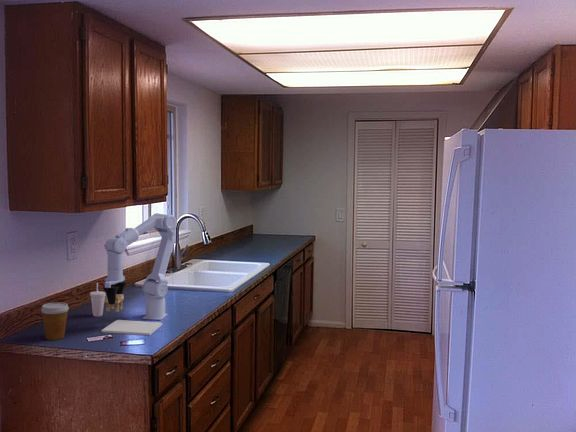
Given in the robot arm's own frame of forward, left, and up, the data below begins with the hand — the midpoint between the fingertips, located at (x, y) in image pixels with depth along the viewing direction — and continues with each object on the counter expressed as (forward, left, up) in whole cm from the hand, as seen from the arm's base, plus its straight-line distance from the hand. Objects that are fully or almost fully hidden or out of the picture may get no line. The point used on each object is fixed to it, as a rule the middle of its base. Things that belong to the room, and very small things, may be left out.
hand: (114, 302), depth 219 cm
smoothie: (-15, -14, -10) cm, 23 cm away
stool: (0, 0, -3) cm, 3 cm away
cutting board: (0, +7, -10) cm, 12 cm away
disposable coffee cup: (+17, -16, -10) cm, 25 cm away
